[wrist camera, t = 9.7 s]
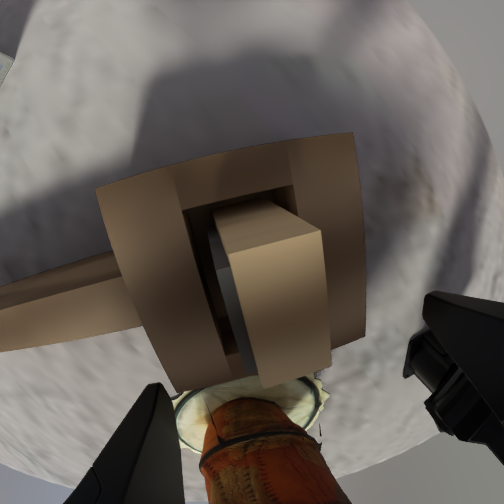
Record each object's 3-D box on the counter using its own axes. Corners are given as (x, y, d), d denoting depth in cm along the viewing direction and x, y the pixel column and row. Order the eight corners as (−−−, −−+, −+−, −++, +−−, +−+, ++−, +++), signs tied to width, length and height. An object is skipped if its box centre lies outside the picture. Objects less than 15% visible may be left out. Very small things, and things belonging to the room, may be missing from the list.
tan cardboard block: (278, 287, 18) (331, 365, 11) (226, 301, 18) (251, 392, 10) (261, 196, 16) (320, 230, 9) (202, 210, 16) (212, 258, 8)
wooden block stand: (321, 289, 23) (365, 336, 16) (-2, 360, 18) (-28, 402, 12) (300, 138, 18) (352, 132, 12) (-51, 258, 14) (-92, 286, 8)
